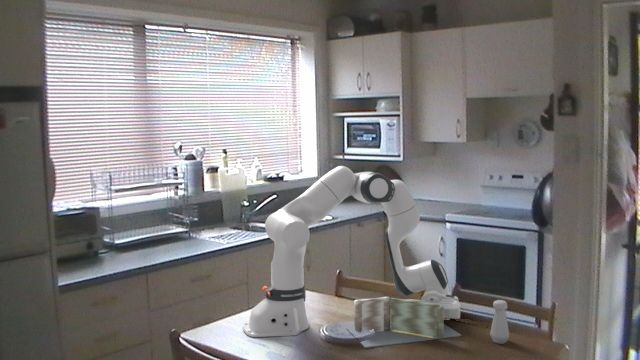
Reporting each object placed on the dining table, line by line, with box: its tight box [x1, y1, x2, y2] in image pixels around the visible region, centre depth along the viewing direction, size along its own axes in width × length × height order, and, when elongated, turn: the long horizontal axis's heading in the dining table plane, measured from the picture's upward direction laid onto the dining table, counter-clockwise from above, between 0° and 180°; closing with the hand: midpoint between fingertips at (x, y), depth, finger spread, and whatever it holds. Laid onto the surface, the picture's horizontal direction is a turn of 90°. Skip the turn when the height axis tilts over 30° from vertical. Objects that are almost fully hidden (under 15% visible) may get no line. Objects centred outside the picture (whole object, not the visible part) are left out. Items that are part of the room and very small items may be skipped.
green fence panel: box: [390, 297, 445, 340], centre depth 198 cm, size 18×2×10 cm, turn 59°
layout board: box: [359, 323, 462, 349], centre depth 202 cm, size 33×18×1 cm, turn 106°
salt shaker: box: [489, 299, 510, 345], centre depth 192 cm, size 6×6×13 cm
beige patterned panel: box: [353, 296, 391, 332], centre depth 202 cm, size 12×3×11 cm, turn 106°
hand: (426, 316), depth 201 cm, fingers closed
